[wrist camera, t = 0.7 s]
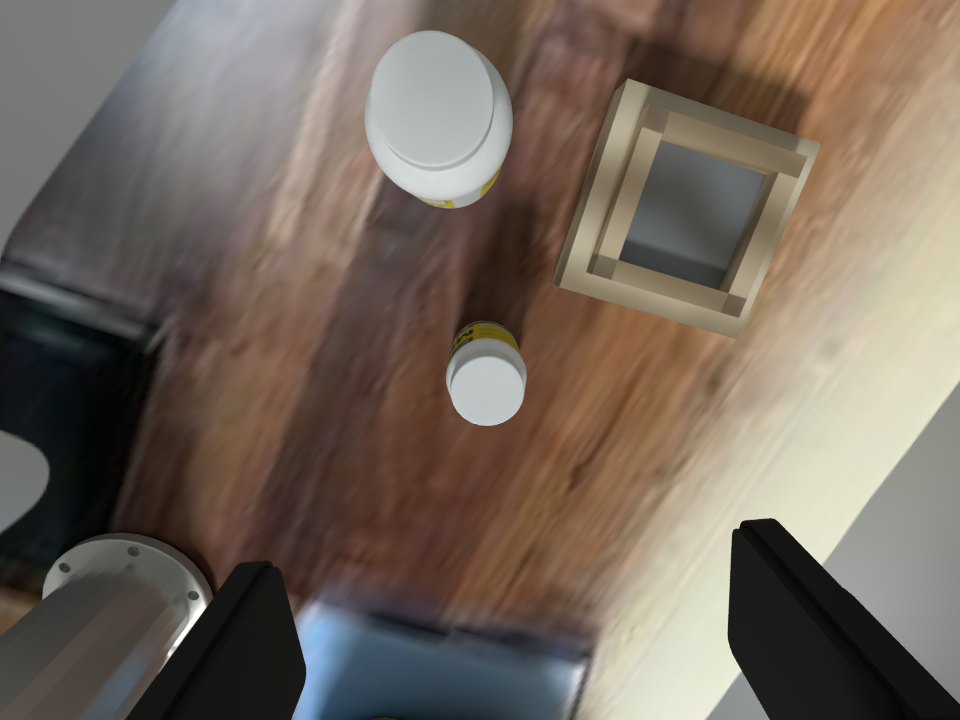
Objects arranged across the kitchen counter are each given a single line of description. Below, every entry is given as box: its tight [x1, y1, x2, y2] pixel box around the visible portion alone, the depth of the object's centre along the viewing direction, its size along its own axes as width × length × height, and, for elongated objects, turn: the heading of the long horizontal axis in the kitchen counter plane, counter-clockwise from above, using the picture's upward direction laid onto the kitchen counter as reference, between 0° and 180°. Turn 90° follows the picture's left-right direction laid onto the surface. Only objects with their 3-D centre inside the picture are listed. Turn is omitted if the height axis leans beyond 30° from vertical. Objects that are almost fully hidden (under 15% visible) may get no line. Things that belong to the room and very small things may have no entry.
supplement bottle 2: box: [446, 321, 527, 426], centre depth 30 cm, size 5×5×8 cm
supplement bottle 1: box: [364, 30, 513, 208], centre depth 24 cm, size 7×7×13 cm
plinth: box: [552, 79, 821, 339], centre depth 29 cm, size 12×12×4 cm
